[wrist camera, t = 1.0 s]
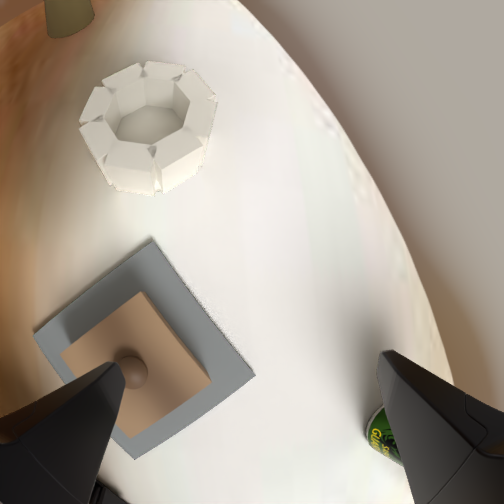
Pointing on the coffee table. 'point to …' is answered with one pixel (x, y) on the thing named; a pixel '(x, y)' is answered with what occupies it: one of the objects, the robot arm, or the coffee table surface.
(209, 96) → the bowl
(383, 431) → the beer can
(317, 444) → the coffee table surface
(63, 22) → the green shaker
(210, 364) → the mat
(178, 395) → the lid
